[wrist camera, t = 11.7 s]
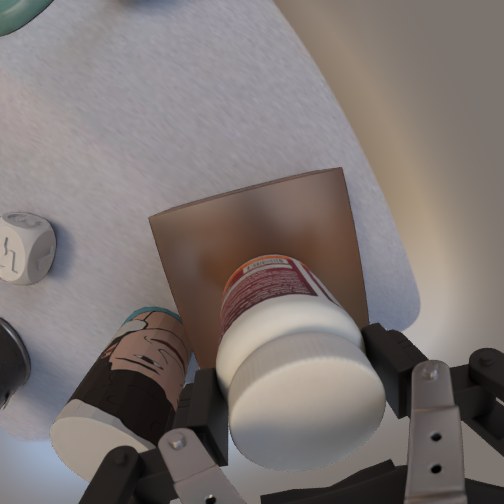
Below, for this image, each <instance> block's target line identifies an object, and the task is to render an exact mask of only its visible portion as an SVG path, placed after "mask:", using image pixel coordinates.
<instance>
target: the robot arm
mask: <svg viewBox="0 0 504 504" xmlns="http://www.w3.org/2000/svg"><path fill="white" fill-rule="evenodd" d="M361 335H362V337H363V340H364V344H365V348H366V357H367V359H368V360H369V362H370V364H371V366H372V367H373V369H374V370H375V372H376V373H377V375H378V376H379V378H380V380H381V382H382V384H383V386H384V390H385V395H386V401H387V402H388V404H389V405H390V407H391V408H392V410H393V411H394V413H395V414H396V416H397V418H398V419H401V418H403V417H405V416H408V417H409V418H410V426H409V442H408V454H407V465H402V466H394V464H393V462H392V460H391V459H389V460H387V461H384V462H382V463H379V464H377V465H374V466H371V467H369V468H365V469H363V470H360V471H358V472H357V473H355V474H353V475H351V476H349V477H347V478H346V479H344V480H342V481H340V482H338V483H336V484H334V485H332V486H330V487H326V488H310V489H292V490H287V491H283V492H278V493H272V494H267V495H262V496H260V498H261V504H504V487H500V486H496V485H491V484H487V483H483V482H479V481H475V480H471V479H468V478H464V455H463V440H462V429H461V421H464V422H465V423H466V424H467V425H468V426H469V427H470V428H471V429H473V430H474V431H475V432H476V433H477V434H478V435H479V436H481V437H482V438H483V439H484V440H485V441H486V442H487V443H488V444H490V445H491V446H492V447H493V448H494V449H495V450H496V451H498V452H499V453H500V454H501V455H502V456H503V457H504V406H503V405H502V404H500V403H499V402H498V401H496V397H497V398H499V399H500V400H501V401H503V402H504V353H502V352H500V351H498V350H496V349H493V348H482V349H479V350H476V351H475V352H473V353H472V354H471V356H470V358H469V364H467V365H462V366H457V367H452V368H449V367H448V365H447V364H445V363H444V362H442V361H439V360H429V359H427V357H426V356H425V355H424V354H422V352H421V351H420V350H419V349H418V348H417V347H416V346H415V345H413V343H412V342H411V341H410V340H408V338H407V337H406V336H404V335H403V334H402V333H401V332H398V331H395V330H393V329H392V330H389V331H386V330H385V329H384V328H383V327H382V326H381V325H380V324H379V323H378V322H377V323H374V324H371V325H368V326H365V327H362V328H361ZM29 376H30V362H29V358H28V355H27V352H26V350H25V347H24V345H23V343H22V342H21V340H20V338H19V337H18V335H17V334H16V333H15V331H14V330H13V329H12V328H11V327H10V326H9V325H8V324H7V323H6V322H5V321H3V320H2V319H0V409H1V408H2V407H3V405H4V404H5V403H6V404H5V406H4V408H5V407H6V406H7V404H8V402H9V400H10V398H11V397H12V395H13V394H14V393H15V392H16V391H17V390H18V389H19V387H21V386H22V385H23V384H24V383H25V382H26V381H27V380H28V378H29ZM4 408H3V410H4ZM228 420H229V407H228V403H227V402H226V400H225V399H224V397H223V395H222V393H221V391H220V388H219V385H218V381H217V375H216V369H215V368H214V367H211V368H206V369H201V370H197V371H196V374H195V379H194V383H190V384H187V385H186V386H185V387H184V388H183V390H182V391H181V392H180V397H179V402H178V405H177V410H176V414H175V418H174V423H173V427H172V430H171V431H169V432H167V433H166V434H164V435H163V436H162V437H161V439H160V440H159V443H158V447H157V448H154V449H151V450H148V451H145V452H141V453H138V452H137V450H136V449H135V448H134V447H132V446H128V445H123V446H118V447H116V448H114V449H112V450H110V451H109V452H108V453H107V454H106V456H105V457H104V459H103V461H102V462H101V464H100V466H99V468H98V469H97V471H96V473H95V475H94V477H93V478H92V480H91V482H90V484H89V486H88V487H87V489H86V491H85V493H84V495H83V497H82V498H81V500H80V502H79V504H128V503H129V504H169V503H170V501H171V500H173V499H177V498H179V499H180V501H181V503H182V504H246V502H245V501H244V500H243V498H242V497H241V496H240V495H239V493H238V492H237V491H236V489H235V488H234V487H233V485H232V484H231V483H230V481H229V480H228V479H227V478H226V476H225V475H224V473H223V472H222V470H221V469H220V468H219V467H221V466H228ZM129 501H130V502H129Z"/></svg>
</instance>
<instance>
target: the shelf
mask: <svg viewBox="0 0 504 504" xmlns="http://www.w3.org/2000/svg"><path fill="white" fill-rule="evenodd" d="M148 219H149V222H150V226H151V229H152V233H153V236H154V239H155V243H156V246H157V249H158V252H159V255H160V259H161V262H162V265H163V268H164V271H165V274H166V277H167V280H168V283H169V286H170V289H171V292H172V295H173V298H174V301H175V304H176V306H177V309H178V312H179V315H180V318H181V320H182V323H183V326H184V329H185V331H186V334H187V337H188V339H189V342H190V345H191V347H192V350H193V352H194V355H195V357H196V360H197V363H198V365H199V368H200V370H201V369H206V368H211V367H214V368H215V369H216V357H217V349H218V339H219V327H220V314H221V303H222V297H223V292H224V289H225V286H226V284H227V282H228V280H229V279H230V277H231V276H232V275H233V274H234V272H235V271H236V270H237V269H238V268H240V267H241V266H242V265H243V264H245V263H246V262H248V261H250V260H252V259H254V258H257V257H260V256H264V255H283V256H288V257H291V258H293V259H296V260H298V261H300V262H301V263H303V264H304V265H305V266H307V267H308V268H309V269H310V270H311V271H312V272H313V273H314V274H315V275H316V277H317V278H318V279H319V280H320V281H321V282H322V284H323V285H324V286H325V287H326V288H327V290H328V291H329V292H330V293H331V294H332V295H333V297H334V298H335V299H336V300H337V301H338V302H339V304H340V305H341V306H342V307H343V308H344V310H345V311H346V312H347V313H348V314H349V316H350V317H351V318H352V319H353V320H354V322H355V324H356V325H357V327H358V328H359V330H360V332H361V328H362V327H365V326H368V325H369V316H368V308H367V300H366V293H365V286H364V279H363V272H362V266H361V260H360V254H359V248H358V242H357V237H356V231H355V226H354V221H353V216H352V211H351V206H350V201H349V196H348V192H347V187H346V182H345V178H344V174H343V169H342V167H339V168H331V169H323V170H316V171H311V172H306V173H302V174H298V175H294V176H289V177H285V178H281V179H277V180H273V181H269V182H265V183H261V184H257V185H253V186H249V187H245V188H241V189H237V190H234V191H230V192H226V193H222V194H219V195H215V196H211V197H208V198H204V199H201V200H197V201H194V202H190V203H187V204H183V205H180V206H176V207H173V208H170V209H168V210H165V211H163V212H160V213H158V214H155V215H153V216H151V217H149V218H148Z"/></svg>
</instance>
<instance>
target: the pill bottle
mask: <svg viewBox="0 0 504 504" xmlns="http://www.w3.org/2000/svg"><path fill="white" fill-rule="evenodd" d="M216 375H217V381H218V385H219V388H220V391H221V393H222V395H223V397H224V399H225V400H226V402H227V403H228V407H229V429H230V434H231V437H232V440H233V442H234V444H235V446H236V447H237V449H238V450H239V451H240V452H241V454H243V455H244V456H245V457H246V458H247V459H249V460H250V461H252V462H254V463H256V464H258V465H260V466H262V467H265V468H269V469H274V470H277V471H287V472H298V471H307V470H313V469H318V468H321V467H325V466H328V465H330V464H333V463H335V462H337V461H340V460H342V459H344V458H346V457H347V456H349V455H350V454H352V453H354V452H355V451H357V450H358V449H359V448H360V447H361V446H363V445H364V444H365V443H366V441H368V440H369V439H370V437H371V436H372V435H373V434H374V432H375V431H376V430H377V428H378V426H379V425H380V423H381V421H382V418H383V414H384V411H385V407H386V395H385V390H384V386H383V384H382V382H381V380H380V378H379V376H378V375H377V373H376V372H375V370H374V369H373V367H372V366H371V364H370V362H369V360H368V359H367V357H366V348H365V344H364V340H363V337H362V335H361V332H360V330H359V328H358V327H357V325H356V324H355V322H354V320H353V319H352V318H351V317H350V316H349V314H348V313H347V312H346V311H345V310H344V308H343V307H342V306H341V305H340V304H339V302H338V301H337V300H336V299H335V298H334V297H333V295H332V294H331V293H330V292H329V291H328V290H327V288H326V287H325V286H324V285H323V284H322V282H321V281H320V280H319V279H318V278H317V277H316V275H315V274H314V273H313V272H312V271H311V270H310V269H309V268H308V267H307V266H305V265H304V264H303V263H301V262H300V261H298V260H296V259H293V258H291V257H288V256H283V255H264V256H260V257H257V258H254V259H252V260H250V261H248V262H246V263H245V264H243V265H242V266H241V267H240V268H238V269H237V270H236V271H235V272H234V274H233V275H232V276H231V277H230V279H229V280H228V282H227V284H226V286H225V289H224V292H223V297H222V303H221V314H220V327H219V339H218V349H217V357H216Z"/></svg>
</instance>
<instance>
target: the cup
mask: <svg viewBox="0 0 504 504" xmlns="http://www.w3.org/2000/svg"><path fill="white" fill-rule="evenodd" d="M191 353H192V347H191V345H190V342H189V339H188V337H187V334H186V331H185V329H184V326H183V323H182V320H181V318H180V317H179V316H177V315H176V314H174V313H172V312H170V311H169V310H167V309H162V308H158V307H144V308H142V309H139V310H137V311H135V312H134V313H133V314H131V315H130V316H129V317H128V318H127V320H126V321H125V322H124V324H123V325H122V326H121V328H120V329H119V330H118V332H117V333H116V334H115V336H114V337H113V338H112V340H111V341H110V342H109V344H108V345H107V347H106V348H105V349H104V351H103V352H102V353H101V355H100V356H99V358H98V359H97V360H96V362H95V363H94V365H93V366H92V367H91V369H90V370H89V372H88V373H87V374H86V376H85V377H84V379H83V380H82V382H81V383H80V384H79V386H78V387H77V389H76V390H75V392H74V393H73V395H72V396H71V398H70V399H69V401H68V402H67V403H66V405H65V406H64V408H63V409H62V411H61V412H60V414H59V415H58V417H57V418H56V420H55V421H54V423H53V425H52V427H51V431H50V439H51V443H52V447H53V448H54V450H55V452H56V453H57V455H58V457H59V458H60V459H61V460H62V461H63V462H64V464H65V465H67V467H68V468H69V469H70V470H72V471H73V472H74V473H76V474H77V475H78V476H80V477H81V478H82V479H84V480H86V481H88V482H91V480H92V478H93V477H94V475H95V473H96V471H97V469H98V468H99V466H100V464H101V462H102V461H103V459H104V457H105V456H106V454H107V453H108V452H109V451H110V450H112V449H114V448H116V447H118V446H123V445H128V446H132V447H134V448H135V449H136V450H137V452H138V453H141V452H145V451H148V450H151V449H154V448H157V447H158V443H159V440H160V439H161V437H162V436H163V435H164V434H166V433H167V432H169V431H171V430H172V427H173V423H174V418H175V414H176V410H177V405H178V402H179V397H180V392H181V391H182V390H183V386H184V382H185V378H186V374H187V369H188V365H189V361H190V357H191Z"/></svg>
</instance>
